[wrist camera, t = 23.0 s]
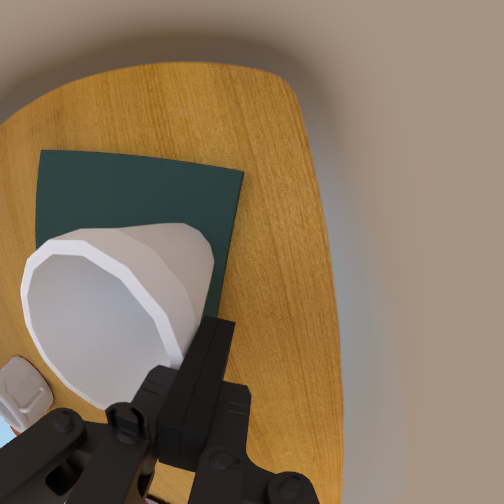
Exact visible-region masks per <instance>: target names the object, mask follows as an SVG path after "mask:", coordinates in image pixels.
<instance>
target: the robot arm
mask: <svg viewBox="0 0 504 504" xmlns="http://www.w3.org/2000/svg"><path fill="white" fill-rule="evenodd" d="M235 323H236V322H232V321H228V320H224V319H219V318H215V317H211V316H206V315H204V317H203V320H202V322H201V324H200V326H199V328H198V330H197V332H196V334H195V336H194V339H193V341H192V343H191V345H190V347H189V349H188V351H187V353H186V355H185V358H184V360H183V362H182V364H181V366H180V368H179V370H176V369H173V368H169V367H166V366H163V365H157V366H156V367H154V368H153V369H151V370H150V371H149V372H148V374H147V376H146V377H145V379H144V381H143V382H142V384H141V386H140V389H138V391H137V393H136V394H135V396H134V398H133V399H132V401H131V403H129V402H117V403H114V404H112V405H110V406H109V407H108V408H107V409H106V410H105V412H106V416H107V420H108V423H106V424H104V423H95V422H89V421H84V420H82V418H81V417H80V415H79V414H78V413H77V412H75V411H74V410H72V409H68V408H57V409H55V410H52V411H51V412H49V413H48V414H47V415H45V416H44V417H43V418H41V419H40V420H39V421H37V422H36V423H34V424H33V425H32V426H30V427H29V428H28V429H26V430H25V431H24V432H22V433H21V434H19V435H18V436H17V437H15V438H14V439H13V440H11V441H10V442H9V443H7V444H6V445H4V446H3V447H2V448H0V504H64V503H65V502H66V503H65V504H144V502H145V499H146V496H147V494H148V491H149V488H150V485H151V483H152V480H153V477H154V474H155V464H156V462H157V459H158V460H159V462H160V463H163V464H166V465H170V466H173V467H177V468H180V469H184V470H188V471H192V472H196V474H195V477H194V481H193V485H192V489H191V493H190V496H189V500H188V504H320V503H319V501H318V498H317V495H316V493H315V490H314V487H313V485H312V483H311V482H310V480H309V479H308V478H307V477H305V476H304V475H303V474H300V473H297V472H289V471H285V472H282V473H278V474H275V473H272V472H269V471H267V470H264V469H262V468H260V467H258V466H256V465H255V464H254V463H253V462H251V460H250V459H249V457H248V455H247V453H246V441H247V432H248V424H249V415H250V406H251V393H250V391H249V389H248V386H246V385H241V384H236V383H231V382H227V381H223V378H224V374H225V370H226V366H227V361H228V356H229V351H230V347H231V342H232V337H233V332H234V327H235Z"/></svg>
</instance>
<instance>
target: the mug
mask: <svg viewBox="0 0 504 504" xmlns="http://www.w3.org/2000/svg"><path fill="white" fill-rule="evenodd" d="M52 403H53V394H52V392H51V389H50V387H49V386H48V384H47V382H46V381H45V379H44V378H43V377H42V375H41V374H40V373H39V372H38V371H37V370H36V368H35V367H34V366H33V365H32V364H30V363H29V362H28V361H27V360H25V359H24V358H22V357H18V356H15V357H13V358H12V359H11V360H10V361H9V362H8V363H7V364H6V365H5V366H4V367H3V368H2V369H0V415H1V416H2V418H3V419H4V420H5V421H6V422H7V423H8V424H9V425H10V426H11V427H13V428H14V429H15V430H17V431H18V432H20V433H22V432H24V431H25V430H26V429H28V428H29V427H30V426H32V425H33V424H34V423H36V422H37V421H39V419H40V418H41V417H42V416H43V415H44V413H45V412H46V411H47V410H48V408H49V407H50V406H51V405H52Z"/></svg>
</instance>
